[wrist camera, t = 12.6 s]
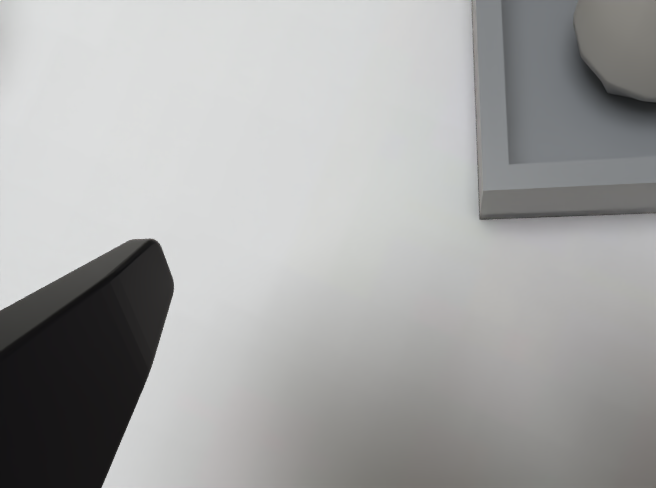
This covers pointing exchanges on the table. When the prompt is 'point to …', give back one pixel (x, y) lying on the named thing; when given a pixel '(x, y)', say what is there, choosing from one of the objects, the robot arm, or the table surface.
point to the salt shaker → (619, 44)
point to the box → (553, 120)
